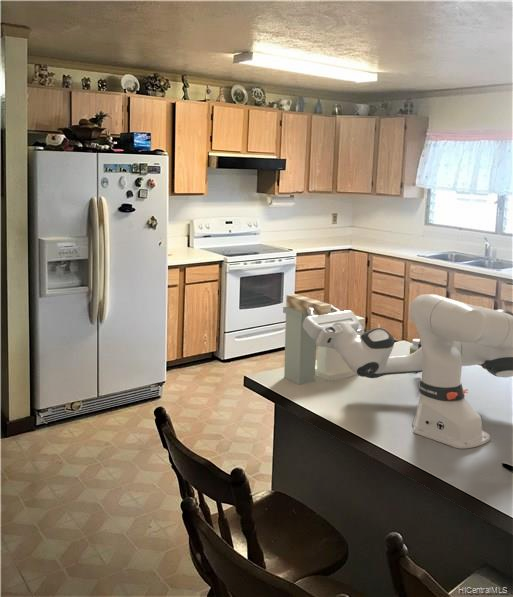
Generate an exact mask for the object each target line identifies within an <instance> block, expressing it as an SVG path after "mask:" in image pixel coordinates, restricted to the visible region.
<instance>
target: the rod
mask: <svg viewBox="0 0 513 597" xmlns="http://www.w3.org/2000/svg"><path fill="white" fill-rule="evenodd" d="M285 297H286V298H285V300H286V302H285V307H291V308H294V309H297V310H300V311H303V312H306V313H308V312H307V309H308V308H313V309H314V312H313V314H315V315H321V314H328V313H332V312H331V305H332V304H330V303H328V302H325V301H320V300H318V299H314V298H309V297H307V296H304V295H300V294H296V293H293V294H292V293H291V294H286V296H285Z"/></svg>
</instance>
